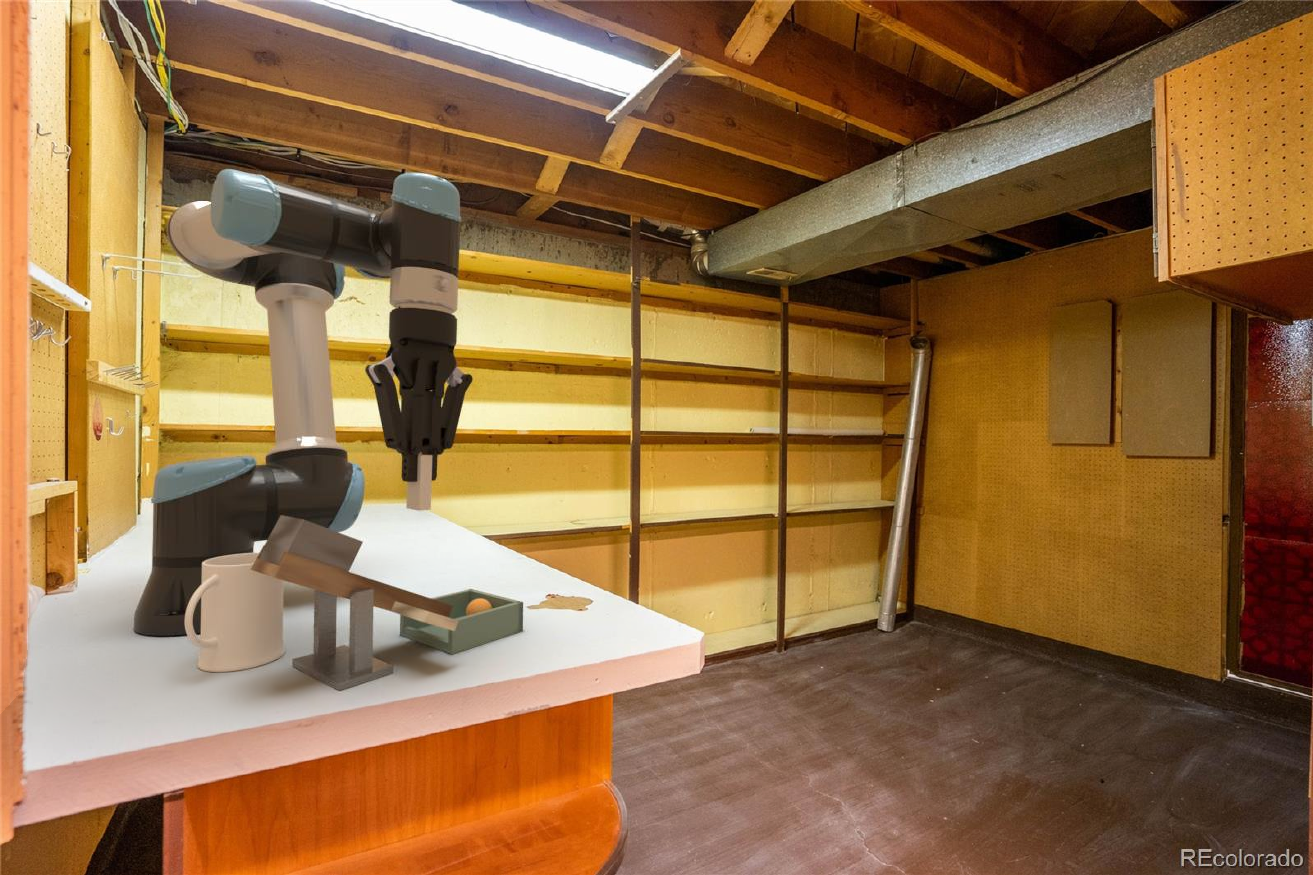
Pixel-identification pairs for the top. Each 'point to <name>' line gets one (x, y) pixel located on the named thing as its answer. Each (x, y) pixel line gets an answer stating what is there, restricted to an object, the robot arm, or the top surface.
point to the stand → (343, 662)
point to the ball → (478, 606)
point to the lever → (337, 570)
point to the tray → (467, 622)
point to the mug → (236, 615)
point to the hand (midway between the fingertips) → (418, 508)
